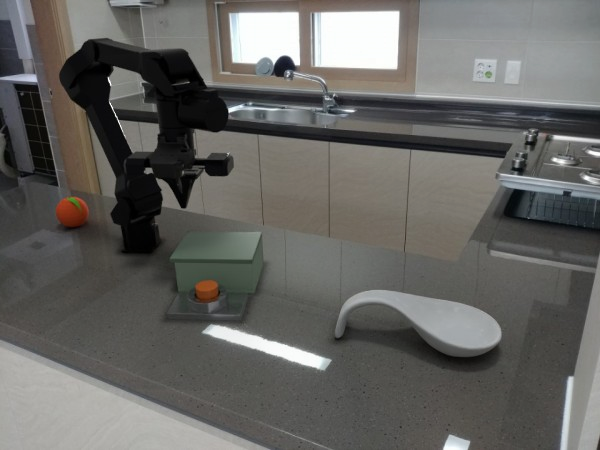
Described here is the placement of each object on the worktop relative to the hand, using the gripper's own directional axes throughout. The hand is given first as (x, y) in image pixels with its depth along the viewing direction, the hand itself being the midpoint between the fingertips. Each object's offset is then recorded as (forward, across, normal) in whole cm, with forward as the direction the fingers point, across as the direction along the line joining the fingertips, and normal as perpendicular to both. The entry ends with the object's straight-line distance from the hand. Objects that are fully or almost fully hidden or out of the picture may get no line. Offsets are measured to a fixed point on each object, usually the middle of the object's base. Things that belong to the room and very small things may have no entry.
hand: (184, 207), depth 100 cm
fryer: (+12, +8, -5) cm, 15 cm away
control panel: (+12, +8, -16) cm, 21 cm away
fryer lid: (+6, +7, -5) cm, 10 cm away
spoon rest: (+11, +41, -23) cm, 48 cm away
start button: (+9, +8, -16) cm, 20 cm away
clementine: (+12, -32, +17) cm, 38 cm away
